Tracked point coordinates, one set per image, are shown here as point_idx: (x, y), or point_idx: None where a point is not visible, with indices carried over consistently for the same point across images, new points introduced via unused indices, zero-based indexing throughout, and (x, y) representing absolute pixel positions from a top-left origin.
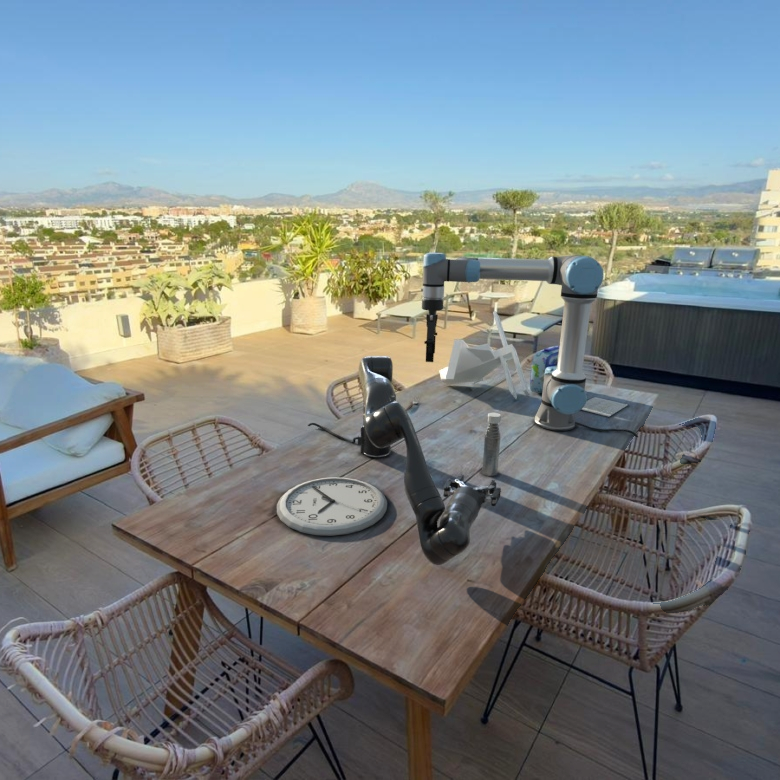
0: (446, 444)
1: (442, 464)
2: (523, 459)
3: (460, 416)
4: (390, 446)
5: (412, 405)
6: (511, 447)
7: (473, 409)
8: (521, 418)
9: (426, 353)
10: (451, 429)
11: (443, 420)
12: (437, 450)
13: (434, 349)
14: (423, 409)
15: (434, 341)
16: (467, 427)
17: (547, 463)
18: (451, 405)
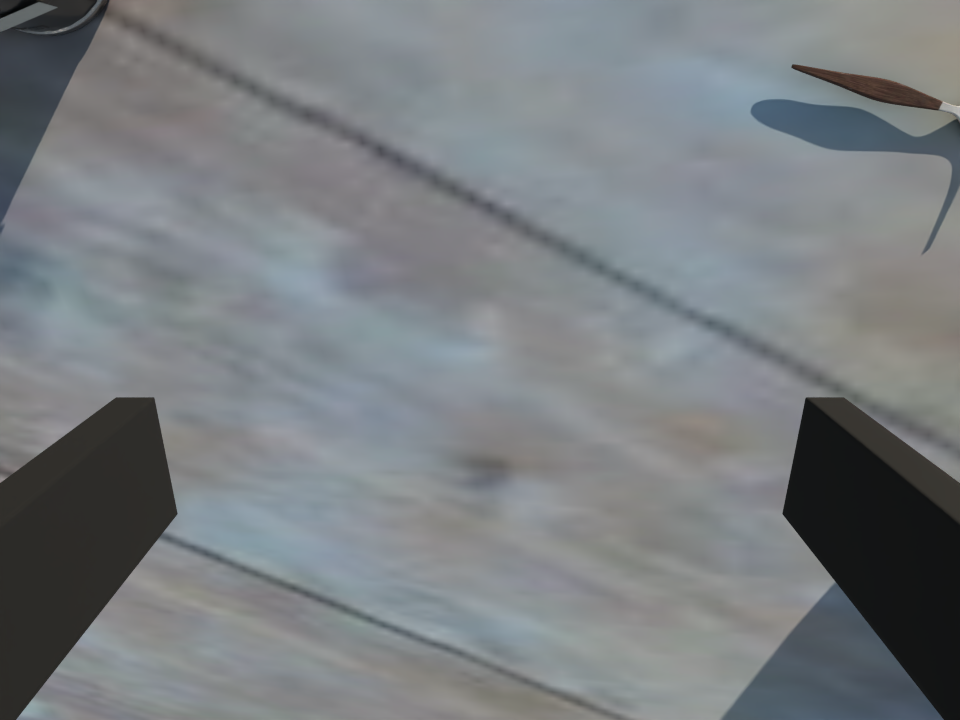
0: (280, 347)
1: (28, 332)
2: (210, 644)
3: (712, 417)
4: (31, 27)
5: (902, 105)
6: (323, 615)
7: None
8: (695, 681)
9: (8, 489)
10: (499, 370)
11: (639, 324)
12: (187, 304)
13: (817, 551)
14: (844, 190)
15: (927, 680)
16: (541, 449)
17: (200, 711)
18: (914, 367)
